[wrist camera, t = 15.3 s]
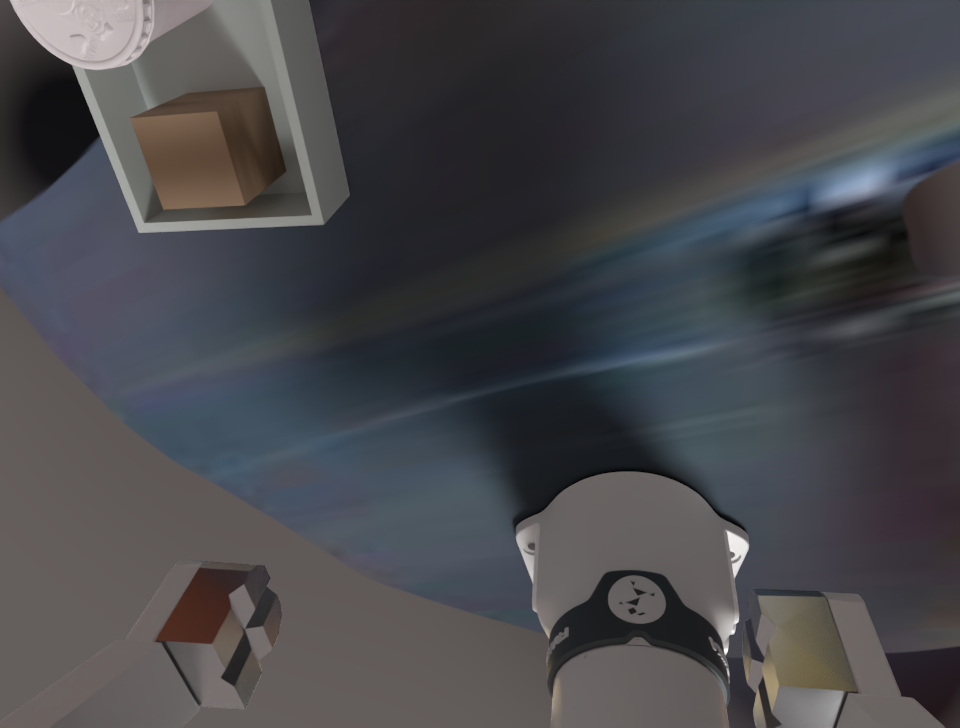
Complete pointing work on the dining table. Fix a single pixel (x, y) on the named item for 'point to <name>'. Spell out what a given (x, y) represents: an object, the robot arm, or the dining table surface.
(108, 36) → the smoothie
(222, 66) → the crate
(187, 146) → the walnut block
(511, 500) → the dining table surface
